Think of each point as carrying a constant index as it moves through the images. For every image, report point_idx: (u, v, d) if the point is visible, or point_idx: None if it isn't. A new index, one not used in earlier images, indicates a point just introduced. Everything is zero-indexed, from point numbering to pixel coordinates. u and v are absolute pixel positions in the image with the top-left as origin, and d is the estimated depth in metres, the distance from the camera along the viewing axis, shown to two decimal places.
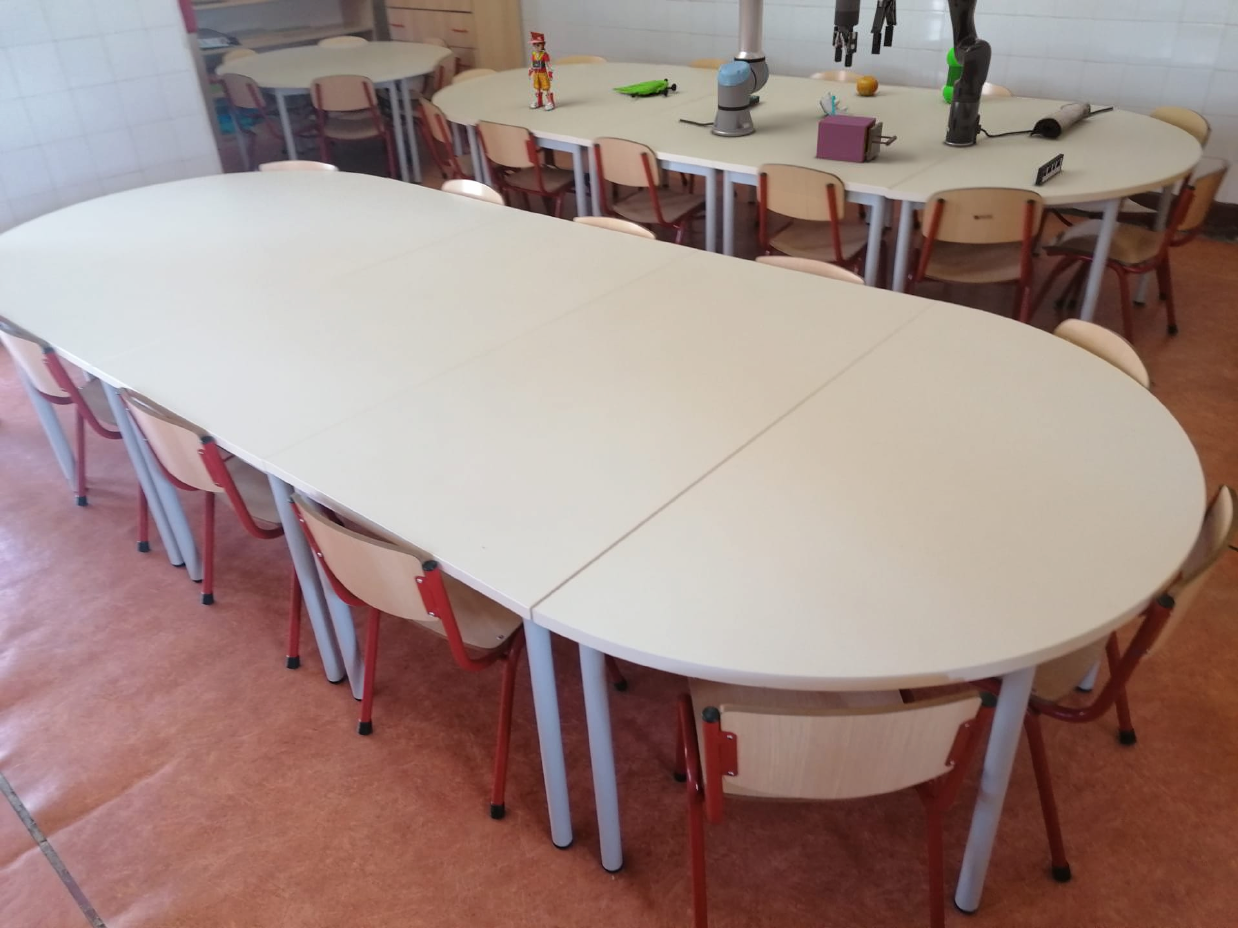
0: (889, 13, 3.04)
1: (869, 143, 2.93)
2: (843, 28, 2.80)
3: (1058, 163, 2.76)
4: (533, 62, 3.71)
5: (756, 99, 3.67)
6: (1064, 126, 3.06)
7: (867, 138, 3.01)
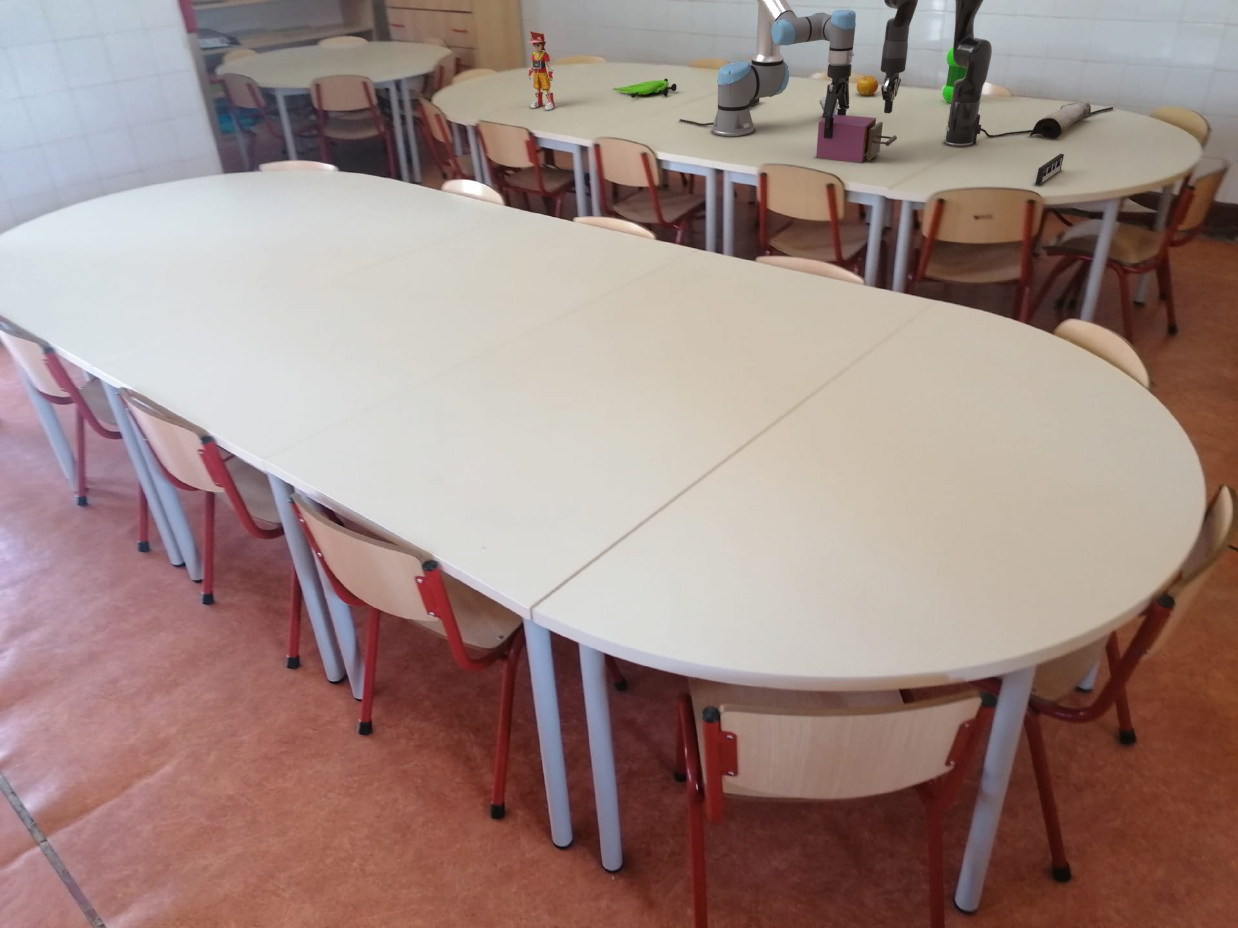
0: (841, 95, 2.98)
1: (869, 143, 2.93)
2: None
3: (1058, 163, 2.76)
4: (533, 62, 3.71)
5: (756, 99, 3.67)
6: (1064, 126, 3.06)
7: (867, 138, 3.01)
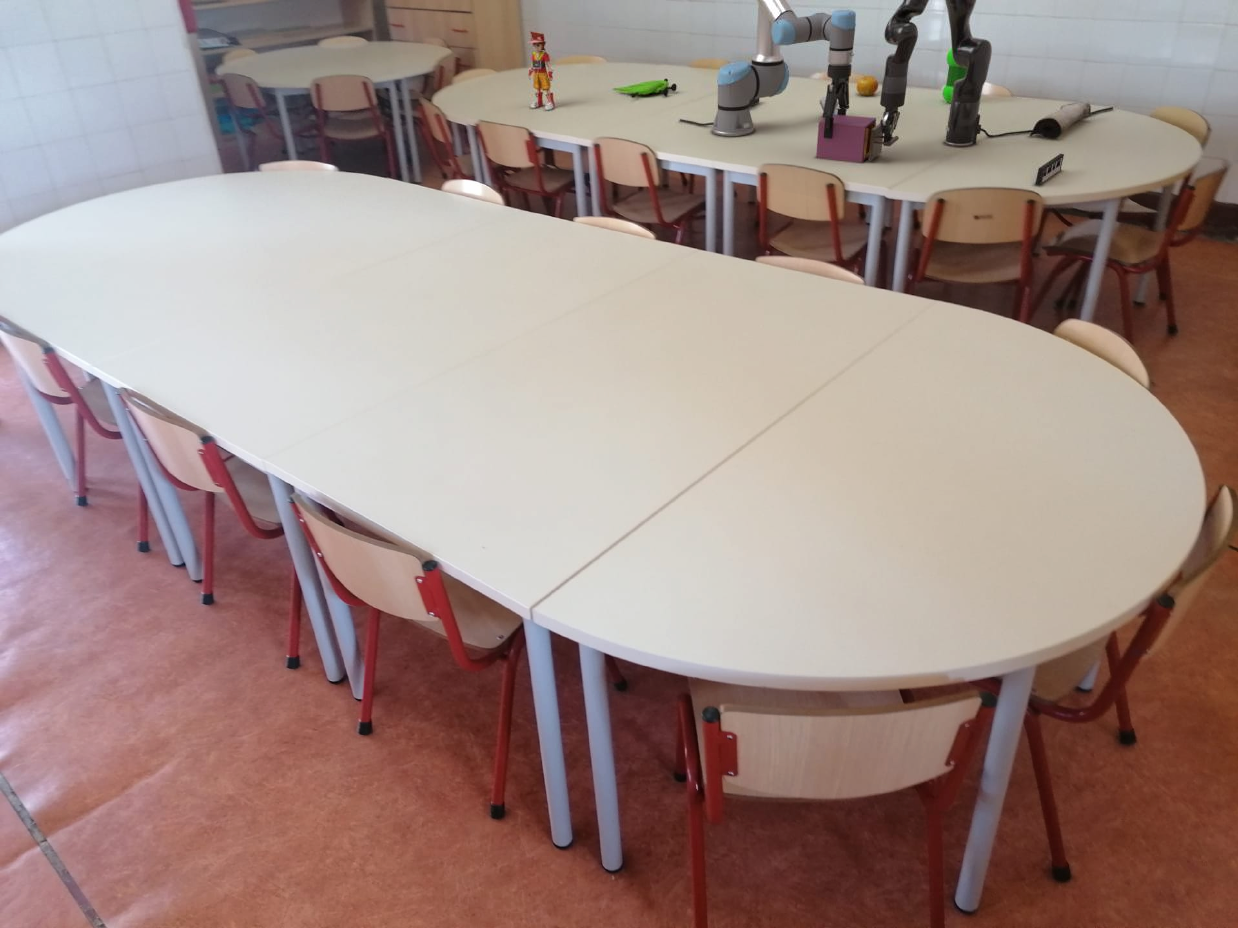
0: (841, 95, 2.98)
1: (871, 143, 2.93)
2: None
3: (1058, 163, 2.76)
4: (533, 62, 3.71)
5: (756, 99, 3.67)
6: (1064, 126, 3.06)
7: (869, 138, 3.00)
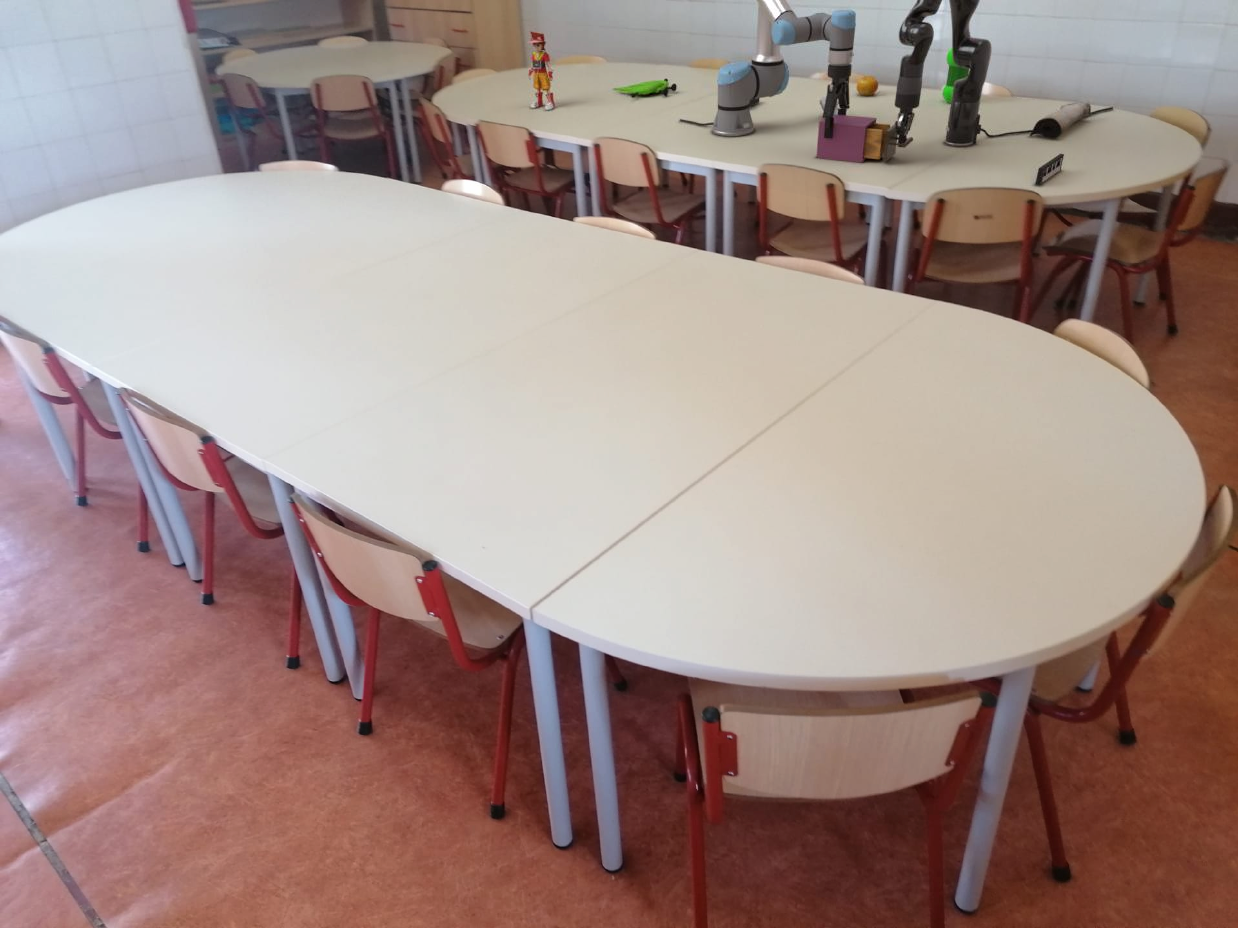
0: (841, 95, 2.98)
1: (885, 145, 2.91)
2: None
3: (1058, 163, 2.76)
4: (533, 62, 3.71)
5: (756, 99, 3.67)
6: (1064, 126, 3.06)
7: (883, 140, 2.98)
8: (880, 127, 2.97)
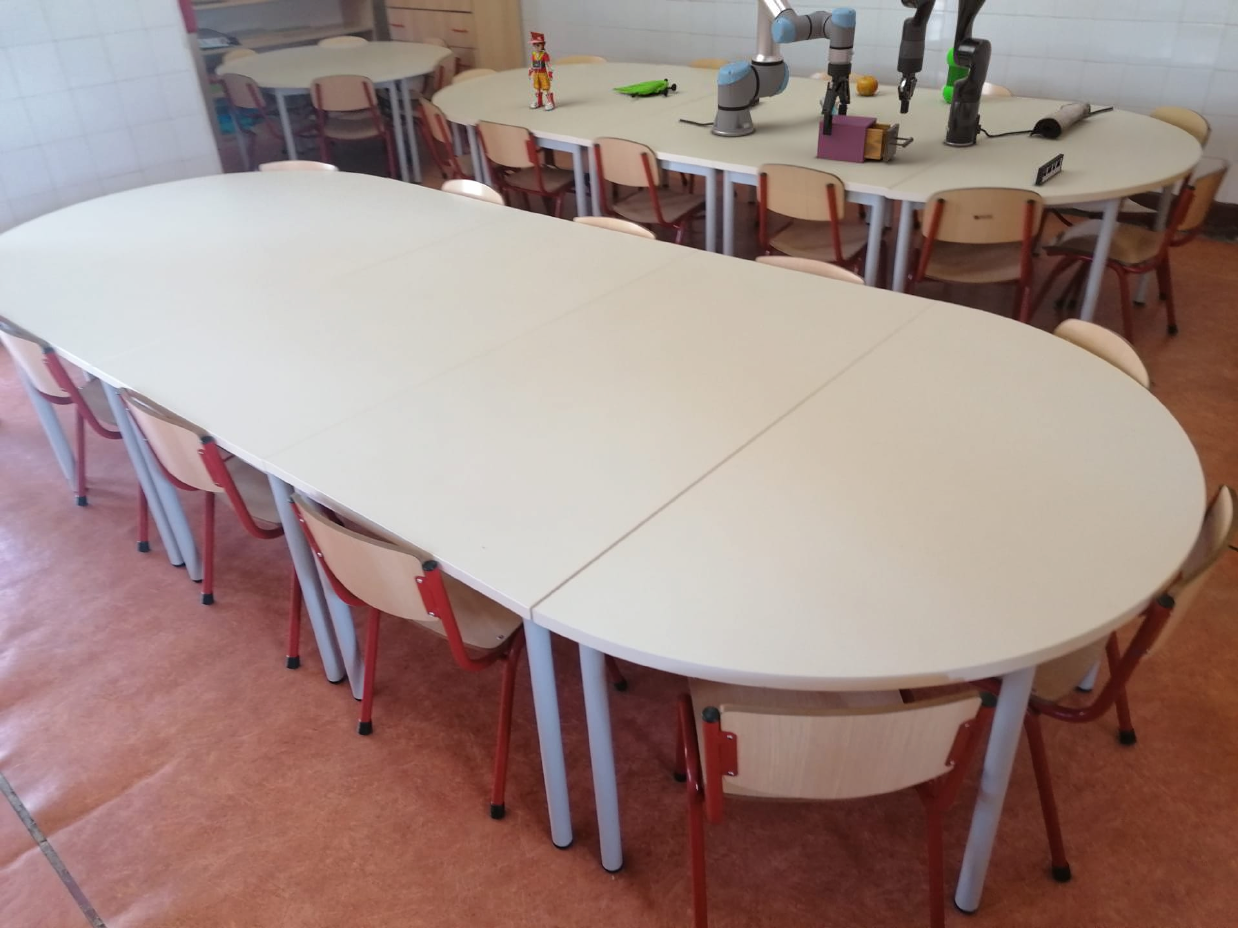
0: (842, 93, 2.98)
1: (886, 145, 2.91)
2: None
3: (1058, 163, 2.76)
4: (533, 62, 3.71)
5: (756, 99, 3.67)
6: (1064, 126, 3.06)
7: (883, 140, 2.98)
8: (880, 127, 2.97)
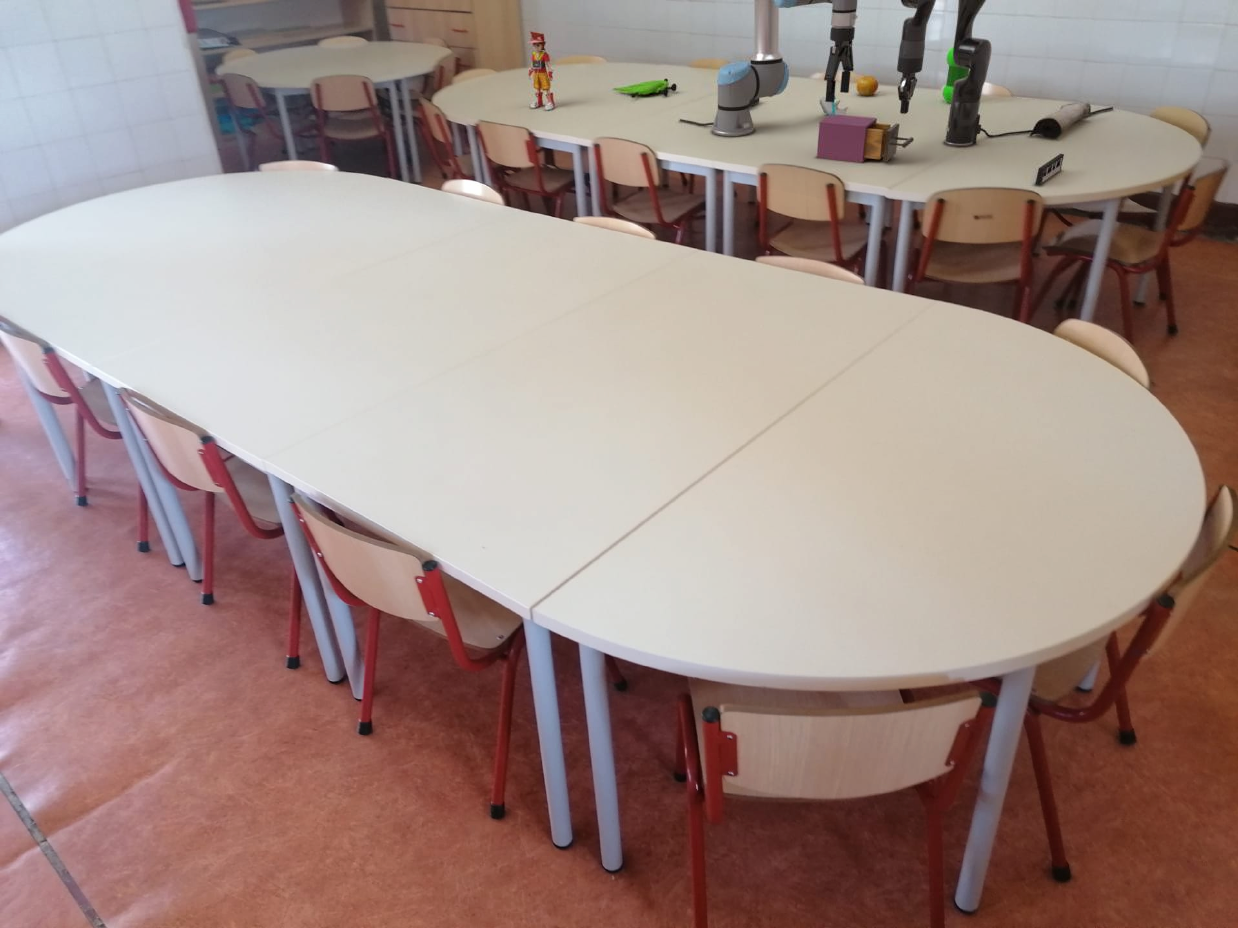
0: (845, 59, 2.92)
1: (886, 145, 2.91)
2: None
3: (1058, 163, 2.76)
4: (533, 62, 3.71)
5: (756, 99, 3.67)
6: (1064, 126, 3.06)
7: (883, 140, 2.98)
8: (880, 127, 2.97)
